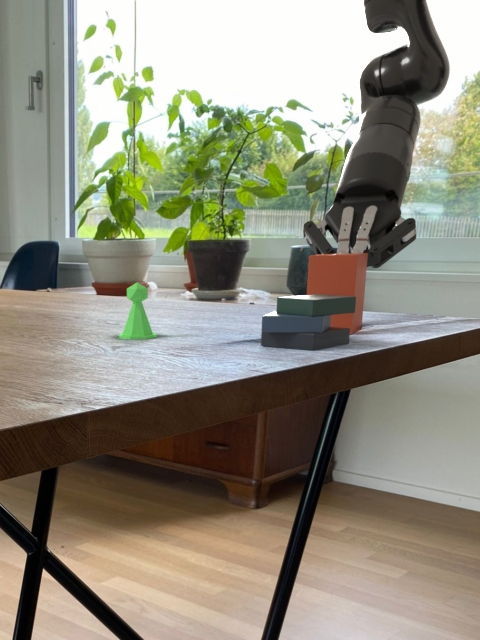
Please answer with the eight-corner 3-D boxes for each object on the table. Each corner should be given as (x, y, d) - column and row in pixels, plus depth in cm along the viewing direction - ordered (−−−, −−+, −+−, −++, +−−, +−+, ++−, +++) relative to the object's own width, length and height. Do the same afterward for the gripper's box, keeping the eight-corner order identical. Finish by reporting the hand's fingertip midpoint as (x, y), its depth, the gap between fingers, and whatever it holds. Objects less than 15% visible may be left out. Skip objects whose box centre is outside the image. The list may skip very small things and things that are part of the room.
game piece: (165, 342, 86) (165, 281, 84) (126, 345, 85) (126, 283, 82) (148, 338, 90) (148, 280, 88) (111, 341, 88) (110, 282, 86)
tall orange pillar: (316, 328, 94) (321, 253, 91) (361, 329, 92) (368, 253, 89) (304, 333, 90) (308, 255, 87) (351, 334, 88) (357, 254, 85)
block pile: (291, 338, 86) (293, 293, 84) (360, 343, 80) (364, 295, 79) (241, 346, 81) (243, 298, 79) (311, 353, 75) (314, 301, 74)
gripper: (314, 154, 98) (277, 268, 92) (434, 145, 91) (402, 267, 86) (322, 203, 104) (288, 313, 98) (435, 198, 98) (406, 315, 92)
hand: (341, 291), depth 92 cm, fingers closed
